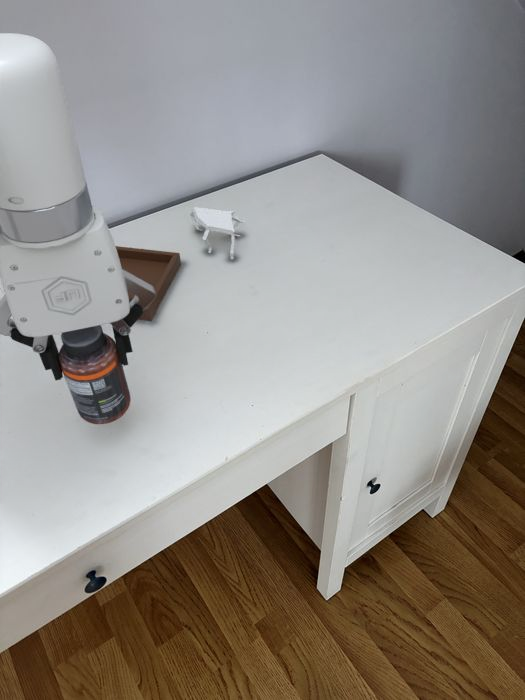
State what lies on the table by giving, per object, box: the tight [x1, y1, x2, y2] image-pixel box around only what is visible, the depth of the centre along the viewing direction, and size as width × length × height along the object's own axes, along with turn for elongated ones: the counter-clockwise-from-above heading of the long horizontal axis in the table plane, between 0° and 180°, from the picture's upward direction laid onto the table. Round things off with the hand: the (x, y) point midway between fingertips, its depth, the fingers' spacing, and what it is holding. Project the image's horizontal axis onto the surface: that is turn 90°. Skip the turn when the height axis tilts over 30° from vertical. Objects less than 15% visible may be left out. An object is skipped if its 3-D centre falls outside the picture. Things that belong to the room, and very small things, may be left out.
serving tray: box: [115, 245, 182, 322], centre depth 85 cm, size 17×14×2 cm
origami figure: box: [189, 206, 245, 260], centre depth 92 cm, size 12×8×5 cm
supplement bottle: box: [58, 325, 132, 425], centre depth 59 cm, size 6×6×11 cm
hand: (91, 362), depth 58 cm, fingers closed on supplement bottle, 6 cm apart
